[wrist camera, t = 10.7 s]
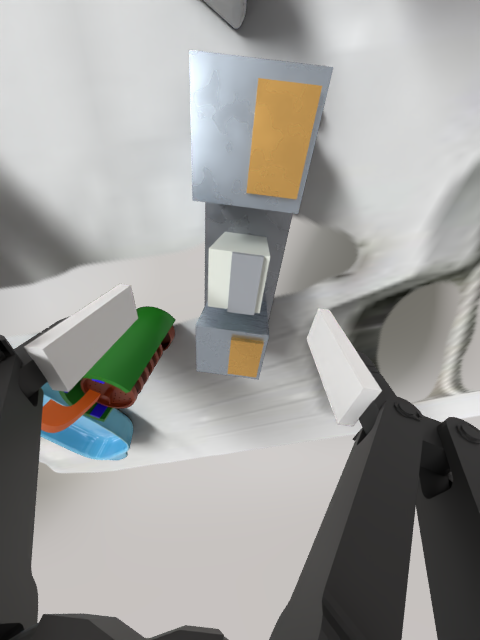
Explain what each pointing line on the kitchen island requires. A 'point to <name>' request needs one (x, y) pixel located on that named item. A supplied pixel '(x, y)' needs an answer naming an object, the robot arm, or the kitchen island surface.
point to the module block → (238, 272)
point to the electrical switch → (230, 10)
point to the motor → (115, 373)
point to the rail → (249, 179)
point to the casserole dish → (92, 433)
